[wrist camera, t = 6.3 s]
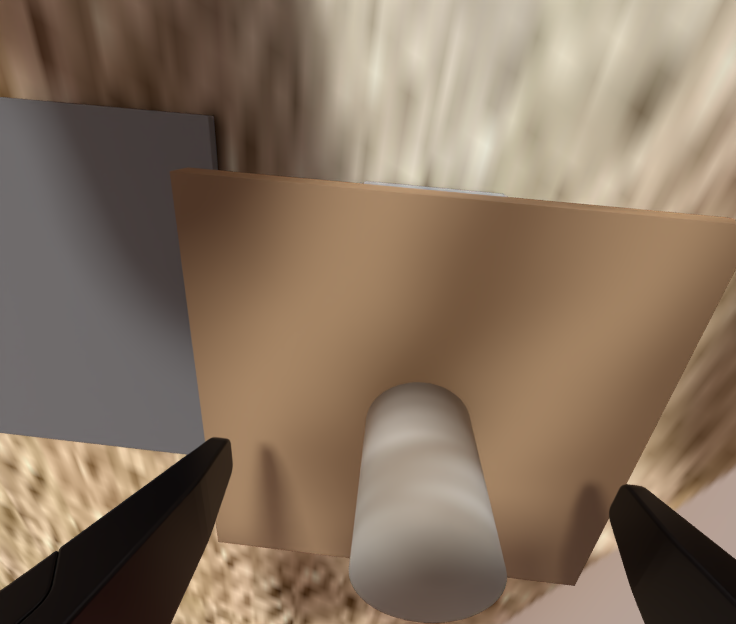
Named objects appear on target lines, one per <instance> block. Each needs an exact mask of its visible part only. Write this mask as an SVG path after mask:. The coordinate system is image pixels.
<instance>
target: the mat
mask: <svg viewBox="0 0 736 624" xmlns="http://www.w3.org/2000/svg"><path fill="white" fill-rule="evenodd" d="M188 167H189V168H200V169H210V170H218V163H217V150H216V138H215V125H214V116H208V115H197V114H186V113H175V112H163V111H152V110H141V109H129V108H118V107H107V106H96V105H84V104H73V103H62V102H50V101H39V100H28V99H17V98H5V97H0V433H7V434H16V435H24V436H33V437H41V438H50V439H58V440H67V441H76V442H84V443H93V444H101V445H110V446H119V447H127V448H136V449H144V450H153V451H161V452H170V453H179V454H187V455H188V454H189V453H190V452H192V451H193V450H195V449H196V448H197V447H199V446H200V445H201V444H203V443H204V442H205V437H204V429H203V422H202V414H201V407H200V399H199V391H198V384H197V376H196V369H195V361H194V353H193V346H192V338H191V331H190V323H189V315H188V308H187V300H186V293H185V285H184V277H183V270H182V262H181V255H180V247H179V239H178V232H177V224H176V217H175V209H174V201H173V194H172V186H171V179H170V171H173V170H178V169H183V168H188Z"/></svg>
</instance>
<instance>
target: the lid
mask: <svg viewBox="0 0 736 624" xmlns="http://www.w3.org/2000/svg"><path fill="white" fill-rule="evenodd" d="M170 179H171V186H172V194H173V201H174V209H175V217H176V224H177V232H178V239H179V247H180V255H181V262H182V270H183V277H184V285H185V293H186V300H187V308H188V315H189V323H190V331H191V338H192V346H193V353H194V361H195V369H196V376H197V384H198V391H199V399H200V407H201V414H202V422H203V429H204V437H205V441H207V440H208V439H210V438H212V437H220V438H227V439H229V440H230V442H231V449H232V459H233V469H232V474H231V477H230V480H229V483H228V486H227V489H226V492H225V495H224V498H223V501H222V504H221V507H220V509H219V512H218V515H217V518H216V528H217V536H218V542H224V543H232V544H240V545H248V546H256V547H264V548H272V549H280V550H288V551H297V552H305V553H313V554H321V555H329V556H337V557H345V558H350V564H349V577H350V581H351V584H352V586H353V588H354V589H355V591H356V592H357V594H358V595H359V596H360V597H361V598H362V599H363V600H364V601H365V602H366V603H368V604H369V605H371V606H372V607H374V608H375V609H377V610H379V611H381V612H383V613H385V614H388V615H390V616H393V617H396V618H400V619H404V620H408V621H414V622H424V623H440V622H450V621H456V620H461V619H464V618H468V617H471V616H473V615H476V614H478V613H480V612H482V611H484V610H485V609H487V608H488V607H490V606H491V605H493V604H494V603H495V602H496V601H497V600H498V598H499V597H500V596H501V595H502V593H503V591H504V589H505V586H506V582H507V577H508V578H516V579H524V580H532V581H540V582H548V583H556V584H564V585H573V586H575V584H576V582H577V580H578V578H579V576H580V574H581V572H582V570H583V568H584V566H585V564H586V562H587V560H588V558H589V556H590V554H591V553H592V551H593V549H594V547H595V545H596V543H597V541H598V539H599V537H600V535H601V533H602V531H603V529H604V527H605V525H606V523H607V521H608V519H609V509H610V506H611V504H612V502H613V500H614V498H615V496H616V494H617V492H618V490H619V488H620V487H621V486H622V485H624V484H627V482H628V480H629V478H630V476H631V474H632V472H633V470H634V468H635V466H636V464H637V462H638V460H639V458H640V456H641V454H642V452H643V450H644V448H645V446H646V444H647V443H648V441H649V439H650V437H651V435H652V433H653V431H654V429H655V427H656V425H657V423H658V421H659V419H660V417H661V415H662V413H663V411H664V409H665V407H666V405H667V403H668V401H669V399H670V397H671V395H672V393H673V391H674V389H675V388H676V386H677V384H678V382H679V380H680V378H681V376H682V374H683V372H684V370H685V368H686V366H687V364H688V362H689V360H690V358H691V356H692V354H693V352H694V350H695V348H696V346H697V344H698V342H699V340H700V338H701V336H702V334H703V333H704V331H705V329H706V327H707V325H708V323H709V321H710V319H711V317H712V315H713V313H714V311H715V309H716V307H717V305H718V303H719V301H720V299H721V297H722V295H723V293H724V291H725V289H726V287H727V285H728V283H729V281H730V279H731V278H732V276H733V274H734V272H735V270H736V220H735V219H731V218H728V217H717V216H706V215H695V214H684V213H674V212H663V211H652V210H641V209H631V208H620V207H609V206H598V205H587V204H577V203H566V202H555V201H544V200H534V199H523V198H512V197H501V196H491V195H480V194H469V193H458V192H447V191H437V190H426V189H415V188H404V187H394V186H383V185H372V184H361V183H350V182H340V181H329V180H318V179H307V178H297V177H286V176H275V175H264V174H253V173H243V172H232V171H221V170H210V169H200V168H189V167H188V168H183V169H178V170H173V171H170Z"/></svg>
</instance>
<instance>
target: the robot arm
mask: <svg viewBox="0 0 736 624" xmlns="http://www.w3.org/2000/svg"><path fill="white" fill-rule="evenodd" d="M232 469H233V459H232V449H231V442H230V440H229V439H227V438H220V437H212V438H210V439H208V440H207V441H205V442H204V443H203V444H201V445H200V446H199V447H197V448H196V449H195V450H193V451H192V452H190V453H189V454H188V455H186V456H185V457H184V458H182V459H181V460H180V461H178V462H177V463H175V464H174V465H173V466H171V467H170V468H169V469H167V470H166V471H164V472H163V473H162V474H160V475H159V476H158V477H156V478H155V479H154V480H152V481H151V482H149V483H148V484H147V485H145V486H144V487H143V488H141V489H140V490H138V491H137V492H136V493H134V494H133V495H132V496H130V497H129V498H128V499H126V500H125V501H123V502H122V503H121V504H119V505H118V506H117V507H115V508H114V509H112V510H111V511H110V512H108V513H107V514H106V515H104V516H103V517H102V518H100V519H99V520H97V521H96V522H95V523H93V524H92V525H91V526H89V527H88V528H87V529H85V530H84V531H82V532H81V533H80V534H78V535H77V536H76V537H74V538H73V539H71V540H70V541H69V542H67V543H66V544H65V545H63V546H62V547H61V548H60V549H59V552H58V551H55V552H53V553H52V554H51V555H49V556H48V557H47V558H45V559H44V560H43V561H41V562H40V563H38V564H37V565H36V566H34V567H33V568H31V569H30V570H29V571H27V572H26V573H24V574H23V575H22V576H20V577H19V578H17V579H16V580H14V581H13V582H12V583H10V584H9V585H7V586H6V587H5V588H3V589H2V590H0V624H171V622H172V620H173V618H174V616H175V614H176V611H177V609H178V607H179V605H180V603H181V600H182V598H183V596H184V594H185V592H186V590H187V587H188V585H189V583H190V581H191V579H192V576H193V574H194V572H195V570H196V568H197V566H198V563H199V561H200V559H201V557H202V555H203V552H204V550H205V548H206V546H207V543H208V541H209V538H210V536H211V533H212V530H213V527H214V524H215V521H216V518H217V515H218V512H219V509H220V507H221V504H222V501H223V498H224V495H225V492H226V489H227V486H228V483H229V480H230V477H231V474H232ZM609 519H610V522H611V526H612V529H613V532H614V536H615V539H616V542H617V545H618V549H619V552H620V555H621V558H622V562H623V565H624V568H625V571H626V575H627V578H628V581H629V584H630V587H631V590H632V593H633V595H634V598H635V601H636V603H637V606H638V608H639V611H640V613H641V616H642V618H643V620H644V623H645V624H736V559H735V558H733V557H732V556H731V555H730V554H728V553H727V552H726V551H724V550H723V549H722V548H721V547H719V546H718V545H717V544H716V543H714V542H713V541H712V540H710V539H709V538H708V537H707V536H705V535H704V534H703V533H702V532H700V531H699V530H698V529H697V528H695V527H694V526H693V525H692V524H690V523H689V522H688V521H687V520H685V519H684V518H683V517H681V516H680V515H679V514H678V513H676V512H675V511H674V510H673V509H671V508H670V507H669V506H668V505H666V504H665V503H664V502H662V501H661V500H660V499H659V498H657V497H656V496H655V495H654V494H652V493H651V492H650V491H649V490H647V489H646V488H644V487H642V486H637V485H628V484H624V485H622V486H621V487H620V488H619V490H618V492H617V494H616V496H615V498H614V500H613V502H612V504H611V506H610V509H609Z"/></svg>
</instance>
